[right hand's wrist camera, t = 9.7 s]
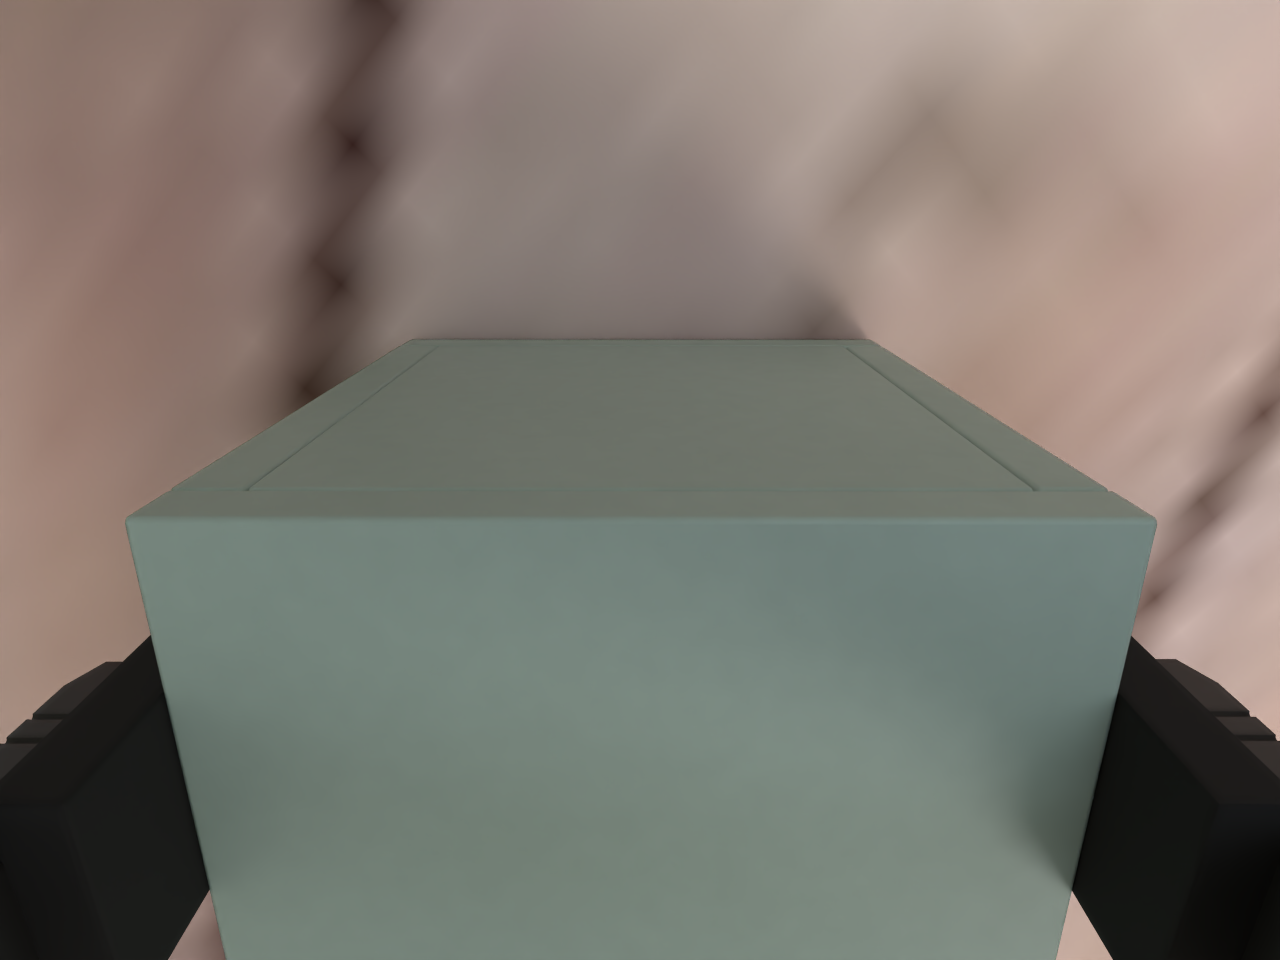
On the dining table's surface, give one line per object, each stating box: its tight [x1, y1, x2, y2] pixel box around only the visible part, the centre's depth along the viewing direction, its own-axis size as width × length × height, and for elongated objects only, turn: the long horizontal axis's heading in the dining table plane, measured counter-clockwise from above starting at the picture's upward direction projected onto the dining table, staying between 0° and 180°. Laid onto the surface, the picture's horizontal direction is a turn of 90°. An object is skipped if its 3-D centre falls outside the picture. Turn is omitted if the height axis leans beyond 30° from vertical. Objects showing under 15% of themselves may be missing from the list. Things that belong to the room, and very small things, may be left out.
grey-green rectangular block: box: [125, 340, 1157, 960], centre depth 15 cm, size 17×10×10 cm, turn 0°
